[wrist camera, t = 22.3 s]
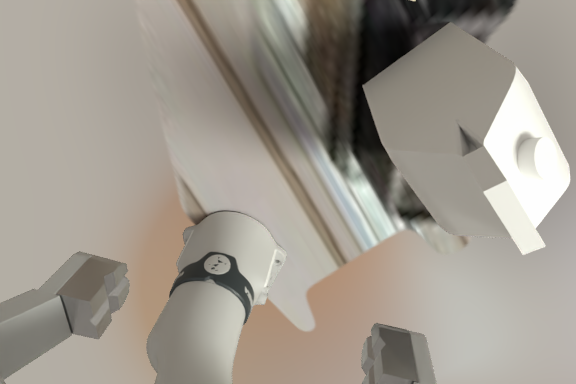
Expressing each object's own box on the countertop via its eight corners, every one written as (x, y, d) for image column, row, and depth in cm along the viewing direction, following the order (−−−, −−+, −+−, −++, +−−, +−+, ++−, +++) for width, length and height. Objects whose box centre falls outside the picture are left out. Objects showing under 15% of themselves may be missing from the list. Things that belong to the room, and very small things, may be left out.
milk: (362, 85, 43) (378, 196, 21) (450, 22, 38) (592, 80, 16) (410, 155, 47) (466, 308, 25) (496, 106, 42) (660, 245, 20)
